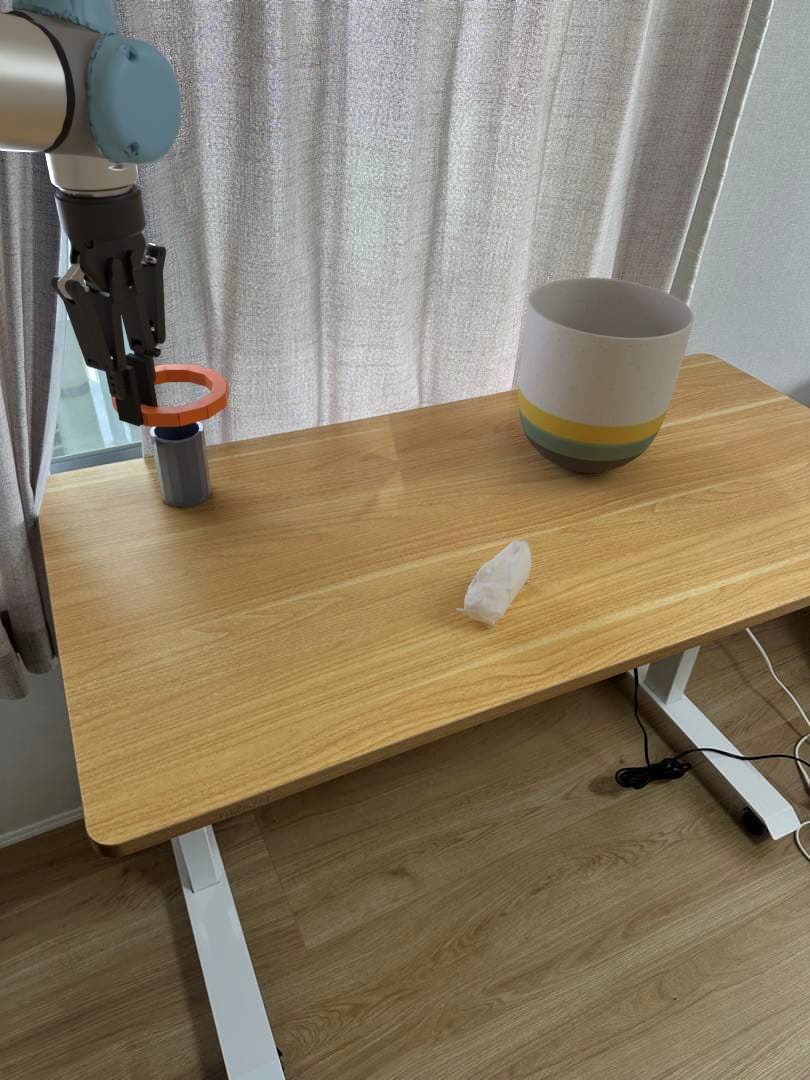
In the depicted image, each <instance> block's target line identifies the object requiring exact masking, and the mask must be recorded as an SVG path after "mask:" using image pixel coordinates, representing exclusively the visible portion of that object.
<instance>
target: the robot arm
mask: <svg viewBox="0 0 810 1080" xmlns="http://www.w3.org/2000/svg"><path fill="white" fill-rule="evenodd" d="M11 1H12V3H11V9H12V10H10V11H7V12H2V13H0V151H2V152H3V151H4V152H22V153H23V152H24V153H25V152H26V153H36V154H43V155H45V158H46V163H47V168H48V173H49V179H50V182H51V184H52V185H54V186H55V187H57V189H56V191H55V192H54V200H55V205H56V209H57V214H58V219H59V222H60V228H61V231H62V232H63V233H64V234H65V236H66V237H67V239H68V241H69V244H70V249H69V257H68V259H69V264H70V266H69V267H68V269H67V270H66V272H65V273H64V274H63V275H62V276H58V275H54V276H53V277H52V278H51V281H50V285H51V287H52V289H53V290H54V292H56V294H57V295H58V296H59V297H60V300H62V302H63V305H64V307H65V310H66V313H67V316H68V319H69V321H70V324H71V327H72V330H73V333H74V336H75V338H76V341H77V343H78V346H79V349H80V351H81V355H82V358H83V360H84V363H85V365H86V367H89V368H92V369H95V370H98V371H101V372H105V376H106V382H107V386H108V391H109V394H110V397H111V396H112V397H114V398H115V401H116V406H117V411H118V413H117V416H118V420H119V421H121V422H124V423H127V424H130V425H133V426H135V427H141V426H143V425H142V424H144V422H143V416H142V411H141V405H140V404H143V405H147V406H150V407H159V404H158V397H157V392H156V385H154V382H155V381H156V372H155V368H154V367H155V366H156V365H155V360H154V358H159V357H160V356H161V354H162V349H161V348H157V346H158V345H163V344H164V343H165V342H166V340H167V339H166V338H167V334H166V332H167V331H166V309H165V306H166V305H165V288H164V287H165V285H164V269H165V263H166V258H167V257H166V256H167V249H166V247H165V246H163V245H159V244H154V243H149V242H147V241H146V238H145V236H144V234H143V232H144V230H145V228H146V226H147V220H146V212H145V208H144V200H143V194H142V190H141V189H140V188H139V187H138V186H137V185H136V182H137V181H138V180H139V171H138V165H143V166H144V165H151V164H154V163H156V162H158V161H159V160H161V159H162V158H164V157H165V156H166V155H167V154H168V153H169V152H170V151H171V149H172V148H173V146H174V144H175V143H176V140H177V138H178V135H179V132H180V129H181V125H182V117H181V113H182V106H181V104H182V94H181V89H180V85H179V82H178V79H177V76H176V73H175V72H174V70H173V69H174V68H173V67H172V66H171V64H170V62H169V61H168V59H167V58H166V57H165V55H164V54H162V52H160V51H159V50H158V49H157V48H156V47H155V46H153V45H152V44H150V43H149V42H146V41H144V40H140V39H136V38H131V37H127V36H124V35H122V34H120V33H118V28H117V24H116V19H115V15H114V10H113V6H112V2H111V0H11ZM123 327H124V328H123ZM152 328H153V329H152ZM124 331H125V332H124ZM124 333H125V335H126V339H127V343H128V347H129V349H130V351H131V352H129V353H127V354H126V346H125V345H126V344H125V337H124ZM132 352H133V353H132ZM117 411H116V412H117Z"/></svg>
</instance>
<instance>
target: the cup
mask: <svg viewBox="0 0 810 1080" xmlns="http://www.w3.org/2000/svg"><path fill="white" fill-rule="evenodd" d="M149 433H150V440H151V445H152V451H153V457H154V463H155V468H156V469H155V470H156V474H157V480H158V485H159V486H158V487H159V491H160V496H161V497H160V498H161V500H162V501H163V502H164V503H165V504H166V505H168V506H170V507H173V508H180V509H181V508H182V509H183V508H191V507H196V506H199V505H201V504H203V503H205V502H206V501H208V500H209V499H210V497H211V495H212V481H211V474H210V466H209V457H208V450H207V444H206V442H207V441H206V436H205V428H204V424H203V423H202V422H201V421H199V422H195V423H191V424H187V425H183V426H180V425H179V427H150V430H149Z"/></svg>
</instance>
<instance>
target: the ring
mask: <svg viewBox="0 0 810 1080" xmlns="http://www.w3.org/2000/svg"><path fill="white" fill-rule="evenodd" d="M154 366H155V367H154V368H155V372H156V381H155V382H154V386H158V385H162V384H165V383H190V384H193V385H197V386H201V387H205V388H207V389H208V390H209V391H210V393H208V394H206V395H205V396H203V397H202V398H200V399H199V400H197V401H194V402H190V403H189V402H188V403H186V404H182V405H178V406H158V407H150V406H147V405H143V404H140V405H141V411H142V416H143V422H144V424H142V425H141V426H144V427H149V428H152V427H179V425H180V426H183V425H187V424H191V423H195V422H202V421H206V420H208V419H211V418H212V417H214V416H215V415H217V414H218V413H220V412H221V411H223V410H224V409H225V408H227V405H228V400H229V394H230V390H229V381H228V380H227V378H225V377H224V376H223V375H222V374H220V373H219V372H218V371H217V370H215V369H213V368H208V367H204V366H201V365H197V364H192V363H190V364H189V363H182V364H181V363H178V364H177V363H174V364H173V363H172V364H171V363H169V364H168V363H165V364H159V365H154ZM110 399H111V403H112V408H113V409H114V410H115V412H116V413H117V414H118V411H117V406H116V401H115V398H114V397H112V396H111V395H110Z"/></svg>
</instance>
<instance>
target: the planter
mask: <svg viewBox="0 0 810 1080" xmlns="http://www.w3.org/2000/svg"><path fill="white" fill-rule="evenodd" d="M694 320H695V319H694V313H693V311H692V309H691V308H690V306H688V305H687V304H686V302H684V301H683V300H681V299H679V298H678V297H677V296H675V295H672V294H670V293H668V292H666V291H664V290H661V289H658V288H657V287H653V286H651V285H650V286H649V285H646V284H642V283H637V282H633V281H629V280H622V279H615V278H606V277H569V278H563V279H556V280H551V281H549V282H546V283H542V284H541V285H539V286H537V287H535V288H534V289H533V290H532V291H531V292H530V293H529V295H528V298H527V305H526V312H525V320H524V327H523V328H524V329H523V336H522V345H521V354H520V364H519V376H518V387H517V388H518V389H517V405H518V406H517V407H518V415H519V421H520V425H521V428H522V431H523V433H524V435H525V437H526V439H527V440H528V441H529V443H530V444H531V446H532V447H533V448H534V449H535V451H537V453H539V454H540V455H541V456H542V457H544V458H545V459H546V460H548V461H549V462H550V463H552V464H554V465H556V466H558V467H560V468H563V469H564V470H565V469H566V470H568V471H572V472H577V473H583V474H584V473H586V474H595V473H605V472H609V471H612V470H616V469H618V468H621V467H624V466H626V465H627V464H629V463H631V462H633V461H634V460H635V459H638V458H639V457H640V456H641V455H642V454H643V453H645V452H646V451H647V450H648V448H649V447H650V446H651V444H652V443H653V442H654V440H655V439H656V437H657V435H658V433H659V431H660V430H661V428H662V426H663V424H664V421H665V419H666V416H667V414H668V410H669V407H670V404H671V401H672V398H673V394H674V391H675V388H676V385H677V381H678V378H679V375H680V372H681V368H682V364H683V362H684V361H683V360H684V359H685V358H684V357H685V354H686V350H687V348H688V347H687V346H688V343H689V340H690V335H691V332H692V327H693V324H694Z"/></svg>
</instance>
